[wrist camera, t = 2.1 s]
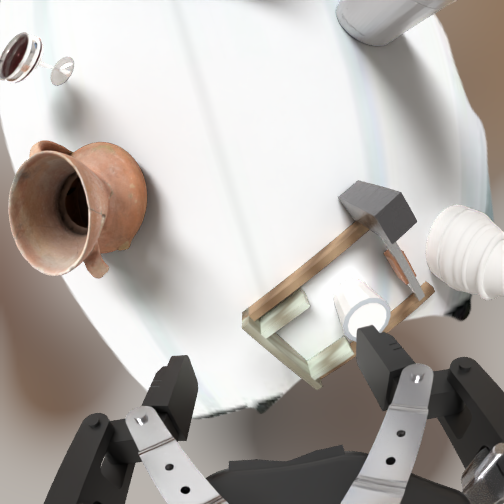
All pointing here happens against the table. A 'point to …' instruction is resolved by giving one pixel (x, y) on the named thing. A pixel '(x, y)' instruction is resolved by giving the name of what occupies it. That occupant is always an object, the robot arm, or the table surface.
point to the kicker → (384, 223)
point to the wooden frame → (298, 303)
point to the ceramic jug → (76, 206)
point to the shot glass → (360, 307)
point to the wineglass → (30, 60)
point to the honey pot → (467, 252)
